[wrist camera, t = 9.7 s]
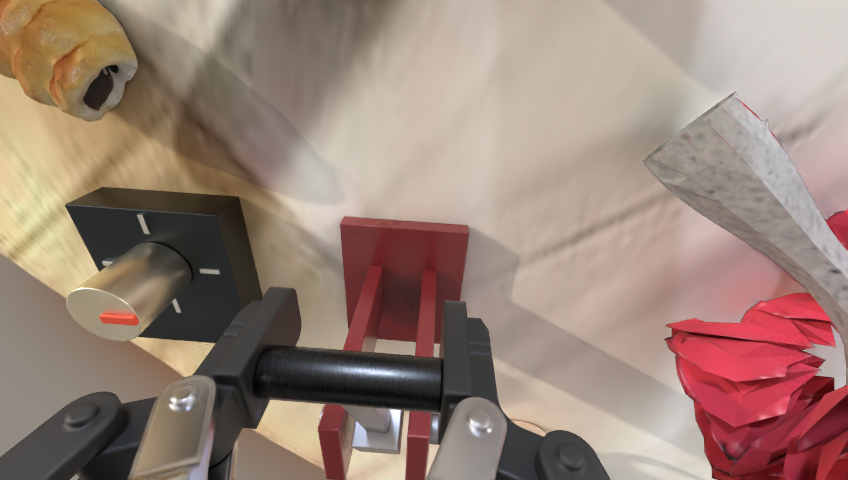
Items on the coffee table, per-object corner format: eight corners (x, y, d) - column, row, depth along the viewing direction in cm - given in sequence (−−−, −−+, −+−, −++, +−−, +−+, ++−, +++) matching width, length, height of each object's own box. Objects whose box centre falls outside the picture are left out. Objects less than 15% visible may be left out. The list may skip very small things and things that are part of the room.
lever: (269, 320, 10) (239, 413, 9) (444, 334, 10) (441, 429, 9) (341, 400, 20) (332, 448, 19) (429, 407, 20) (426, 456, 19)
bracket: (344, 216, 26) (257, 376, 14) (468, 225, 26) (486, 394, 14) (352, 326, 32) (295, 507, 20) (453, 334, 31) (457, 521, 20)
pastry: (-50, 1, 20) (-146, -4, 17) (-20, -113, 18) (-126, -145, 14) (114, 125, 23) (60, 141, 20) (160, 44, 21) (106, 47, 17)
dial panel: (102, 186, 26) (61, 205, 23) (239, 196, 25) (214, 216, 23) (157, 311, 32) (131, 338, 29) (268, 320, 32) (251, 347, 29)
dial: (143, 288, 26) (80, 342, 22) (121, 239, 24) (46, 289, 20) (199, 292, 26) (147, 347, 22) (182, 244, 24) (120, 294, 20)
